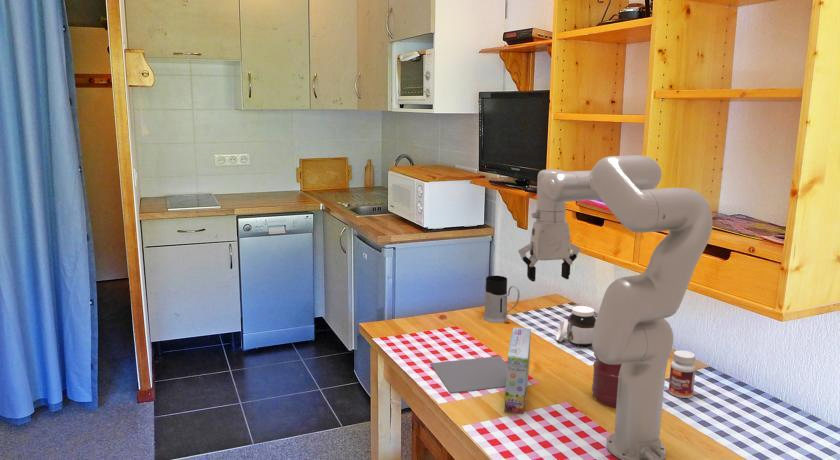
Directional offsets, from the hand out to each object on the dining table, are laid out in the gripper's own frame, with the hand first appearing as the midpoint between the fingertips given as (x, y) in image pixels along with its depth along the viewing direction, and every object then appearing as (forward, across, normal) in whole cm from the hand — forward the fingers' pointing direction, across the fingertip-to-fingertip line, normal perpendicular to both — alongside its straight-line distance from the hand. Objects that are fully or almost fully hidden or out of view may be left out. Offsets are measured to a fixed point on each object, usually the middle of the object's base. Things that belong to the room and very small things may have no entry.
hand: (548, 279), depth 171 cm
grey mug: (+29, +6, +51) cm, 59 cm away
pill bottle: (+30, +33, -14) cm, 47 cm away
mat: (+30, -17, +10) cm, 35 cm away
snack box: (+30, -10, -5) cm, 32 cm away
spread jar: (+30, +22, +26) cm, 45 cm away
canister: (+30, +15, -13) cm, 36 cm away
